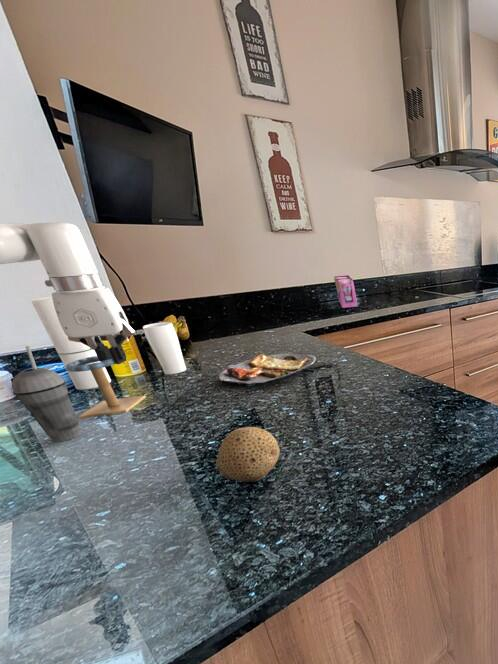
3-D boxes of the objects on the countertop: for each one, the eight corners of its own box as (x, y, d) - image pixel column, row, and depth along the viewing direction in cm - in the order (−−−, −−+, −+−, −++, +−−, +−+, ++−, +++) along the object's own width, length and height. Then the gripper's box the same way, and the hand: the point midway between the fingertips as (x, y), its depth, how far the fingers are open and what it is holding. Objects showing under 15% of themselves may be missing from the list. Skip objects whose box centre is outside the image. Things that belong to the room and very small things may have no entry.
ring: (57, 375, 86) (54, 369, 86) (84, 362, 94) (81, 356, 94) (108, 368, 89) (105, 363, 88) (130, 356, 97) (128, 351, 96)
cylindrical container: (113, 379, 115) (73, 294, 105) (111, 386, 110) (68, 297, 100) (79, 386, 111) (34, 297, 101) (75, 394, 106) (27, 301, 96)
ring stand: (80, 420, 91) (57, 376, 87) (104, 404, 99) (84, 363, 94) (127, 414, 93) (107, 370, 89) (147, 399, 101) (129, 358, 97)
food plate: (201, 384, 110) (196, 372, 109) (270, 357, 130) (267, 347, 129) (270, 392, 103) (266, 380, 102) (332, 363, 123) (329, 352, 122)
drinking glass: (156, 376, 117) (135, 327, 111) (178, 368, 123) (160, 321, 117) (173, 377, 115) (154, 328, 109) (195, 369, 121) (178, 322, 115)
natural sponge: (295, 478, 68) (280, 428, 64) (236, 505, 62) (216, 452, 58) (276, 460, 74) (261, 412, 70) (220, 482, 67) (200, 432, 64)
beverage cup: (44, 437, 84) (-8, 348, 76) (91, 424, 89) (47, 340, 81) (40, 449, 80) (-15, 356, 72) (90, 436, 84) (43, 347, 76)
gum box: (358, 306, 203) (353, 280, 198) (342, 308, 200) (336, 281, 195) (353, 299, 223) (348, 275, 218) (338, 301, 220) (333, 276, 214)
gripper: (18, 289, 80) (62, 373, 87) (112, 283, 84) (146, 363, 91) (45, 284, 87) (84, 362, 94) (131, 278, 91) (162, 354, 98)
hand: (115, 362), depth 93 cm, fingers closed on ring, 1 cm apart
